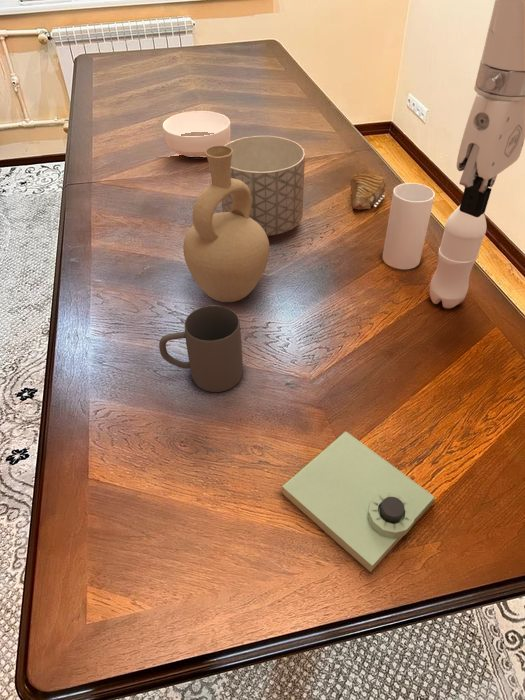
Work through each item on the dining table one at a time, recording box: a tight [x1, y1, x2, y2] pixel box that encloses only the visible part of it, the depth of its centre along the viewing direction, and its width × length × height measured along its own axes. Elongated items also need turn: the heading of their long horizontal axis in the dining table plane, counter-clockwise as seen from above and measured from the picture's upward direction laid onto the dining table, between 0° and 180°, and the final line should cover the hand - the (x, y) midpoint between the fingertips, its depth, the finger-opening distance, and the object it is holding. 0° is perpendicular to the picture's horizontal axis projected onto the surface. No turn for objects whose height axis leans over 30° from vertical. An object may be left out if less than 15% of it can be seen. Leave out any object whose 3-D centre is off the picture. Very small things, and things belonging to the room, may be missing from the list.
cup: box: [382, 182, 436, 270], centre depth 114 cm, size 8×8×16 cm
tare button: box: [380, 497, 405, 523], centre depth 71 cm, size 3×3×2 cm
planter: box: [221, 135, 306, 237], centre depth 124 cm, size 19×19×18 cm
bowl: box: [162, 110, 231, 159], centre depth 159 cm, size 20×20×8 cm
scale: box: [281, 431, 436, 573], centre depth 75 cm, size 16×14×4 cm
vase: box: [182, 146, 270, 303], centre depth 101 cm, size 17×17×30 cm
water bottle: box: [428, 203, 488, 309], centre depth 100 cm, size 7×7×25 cm
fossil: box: [349, 173, 387, 210], centre depth 136 cm, size 12×6×9 cm
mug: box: [158, 304, 244, 393], centre depth 90 cm, size 14×9×12 cm
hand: (471, 212), depth 79 cm, fingers closed
